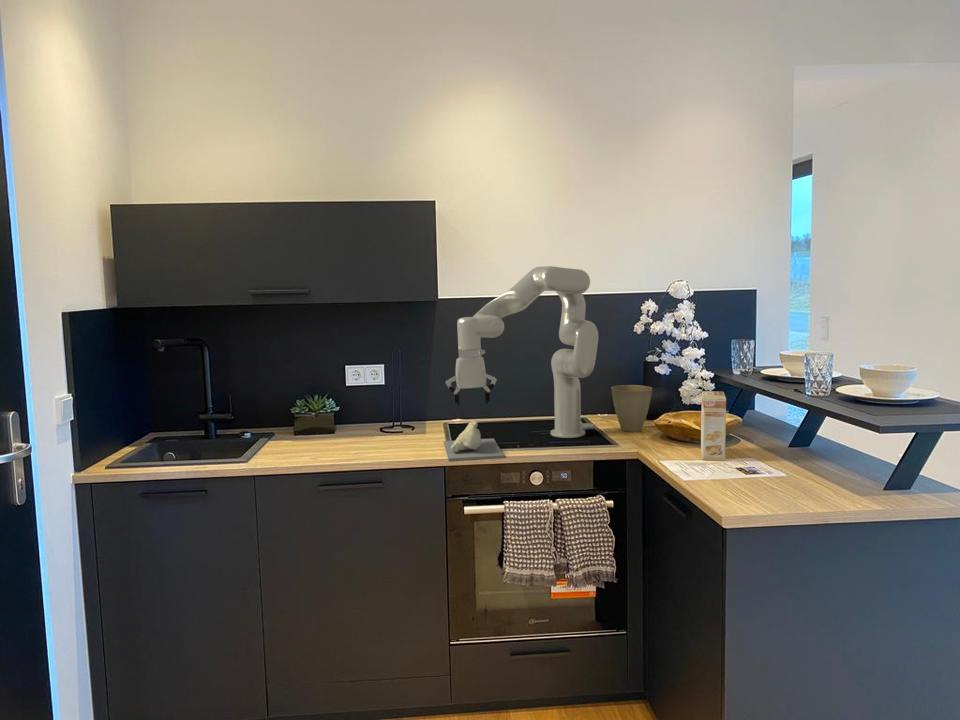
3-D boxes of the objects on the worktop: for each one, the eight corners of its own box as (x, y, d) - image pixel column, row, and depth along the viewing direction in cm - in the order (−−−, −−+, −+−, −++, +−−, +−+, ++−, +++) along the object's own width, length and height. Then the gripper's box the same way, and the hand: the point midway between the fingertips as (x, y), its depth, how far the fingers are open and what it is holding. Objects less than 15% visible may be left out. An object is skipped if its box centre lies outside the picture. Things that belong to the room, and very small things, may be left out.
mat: (493, 440, 249) (493, 438, 249) (504, 457, 225) (504, 455, 225) (443, 443, 247) (443, 441, 246) (448, 461, 223) (448, 458, 223)
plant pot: (657, 433, 253) (657, 390, 251) (617, 435, 252) (617, 391, 250) (645, 424, 268) (645, 383, 266) (607, 426, 267) (606, 385, 265)
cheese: (470, 462, 225) (498, 428, 230) (453, 447, 224) (482, 413, 229) (457, 465, 239) (484, 433, 244) (442, 451, 238) (469, 419, 244)
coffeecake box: (726, 461, 214) (727, 399, 211) (701, 460, 216) (702, 398, 213) (723, 449, 228) (724, 390, 226) (700, 448, 230) (701, 390, 228)
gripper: (493, 351, 236) (495, 400, 239) (443, 354, 234) (445, 403, 237) (497, 353, 229) (499, 404, 231) (444, 357, 227) (447, 408, 229)
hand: (472, 404), depth 234 cm, fingers open, 9 cm apart
